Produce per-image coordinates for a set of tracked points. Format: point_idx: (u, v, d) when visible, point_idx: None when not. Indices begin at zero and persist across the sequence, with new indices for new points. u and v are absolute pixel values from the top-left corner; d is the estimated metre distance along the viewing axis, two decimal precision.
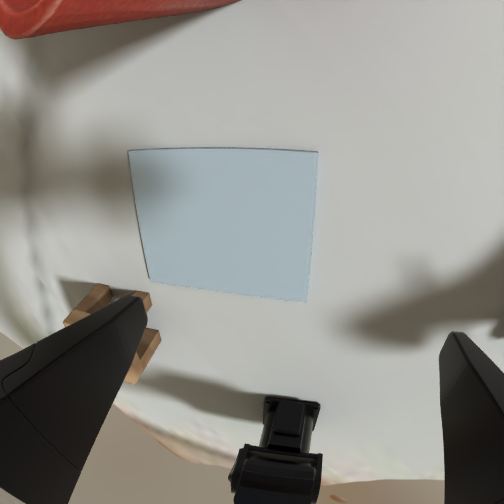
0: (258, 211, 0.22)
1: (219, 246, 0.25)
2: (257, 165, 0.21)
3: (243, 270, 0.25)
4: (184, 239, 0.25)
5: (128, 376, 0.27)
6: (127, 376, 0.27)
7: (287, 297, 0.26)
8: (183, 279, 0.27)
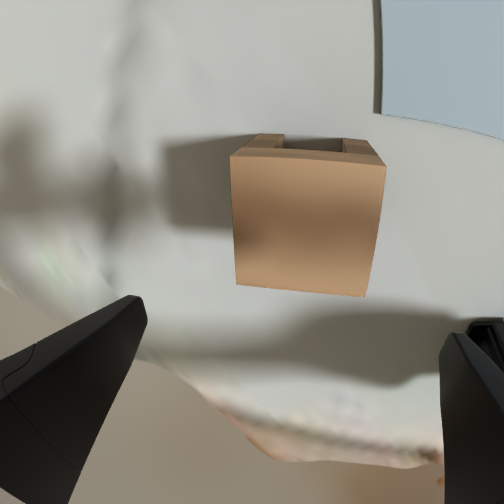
0: None
1: (488, 67, 0.12)
2: None
3: None
4: (448, 50, 0.13)
5: (359, 278, 0.14)
6: (357, 277, 0.14)
7: None
8: (437, 110, 0.15)
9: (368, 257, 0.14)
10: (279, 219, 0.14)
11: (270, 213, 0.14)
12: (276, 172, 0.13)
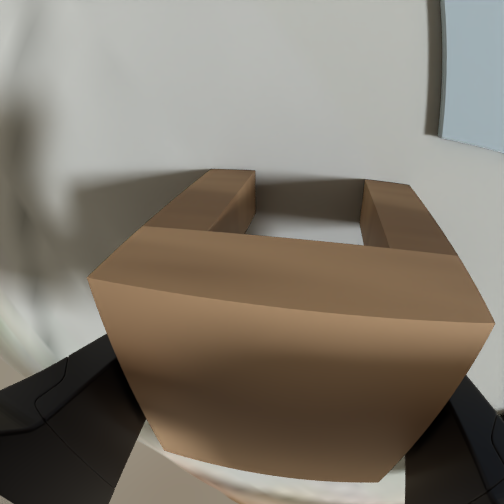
0: None
1: None
2: None
3: None
4: None
5: (375, 469, 0.06)
6: (371, 470, 0.06)
7: None
8: None
9: (397, 453, 0.06)
10: (218, 405, 0.06)
11: (199, 393, 0.06)
12: (198, 328, 0.05)
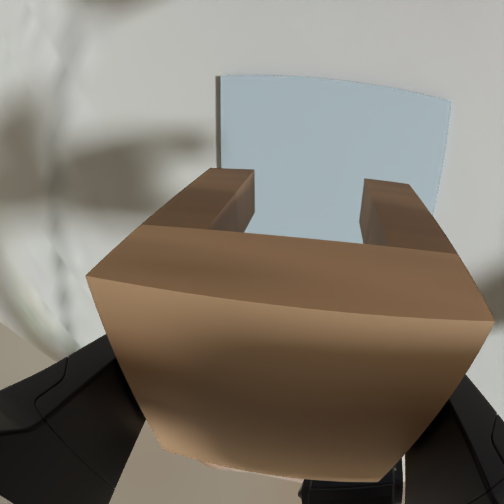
0: (384, 159, 0.17)
1: (330, 201, 0.19)
2: (389, 105, 0.16)
3: (354, 233, 0.20)
4: (284, 191, 0.20)
5: (375, 469, 0.06)
6: (371, 469, 0.06)
7: None
8: None
9: (396, 453, 0.06)
10: (218, 404, 0.06)
11: (198, 392, 0.06)
12: (197, 327, 0.05)
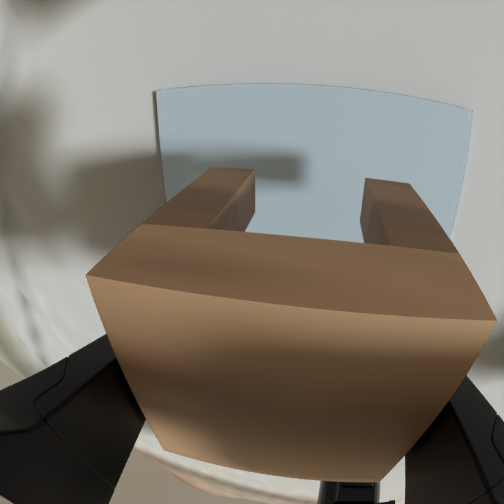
0: None
1: None
2: (387, 118, 0.11)
3: None
4: None
5: (376, 469, 0.06)
6: (372, 469, 0.06)
7: None
8: None
9: (398, 453, 0.06)
10: (218, 404, 0.06)
11: (198, 392, 0.06)
12: (198, 326, 0.05)
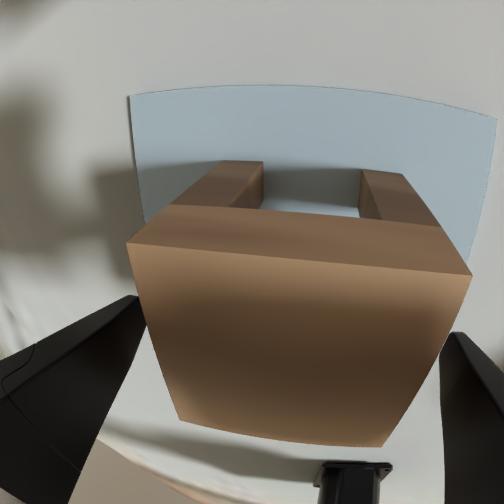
0: None
1: None
2: (399, 127, 0.09)
3: None
4: None
5: (378, 431, 0.07)
6: (374, 431, 0.07)
7: None
8: None
9: (397, 411, 0.07)
10: (236, 361, 0.07)
11: (219, 349, 0.07)
12: (224, 282, 0.06)
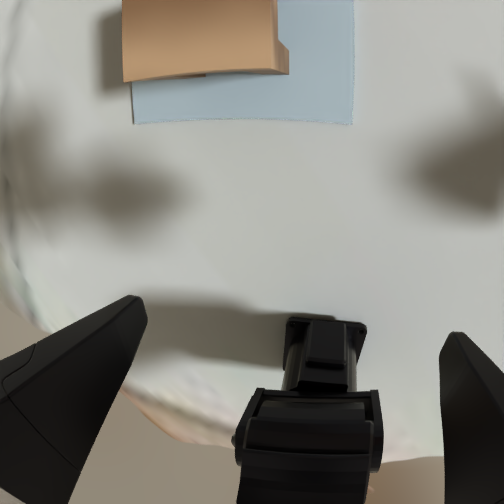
0: (284, 0, 0.14)
1: None
2: None
3: (264, 79, 0.16)
4: None
5: (259, 41, 0.10)
6: (256, 41, 0.10)
7: (326, 117, 0.17)
8: (179, 108, 0.18)
9: (264, 15, 0.09)
10: None
11: None
12: None
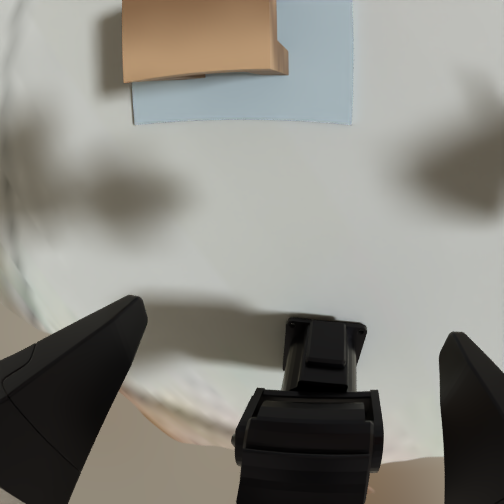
0: (283, 1, 0.14)
1: None
2: None
3: (263, 80, 0.16)
4: None
5: (258, 42, 0.10)
6: (255, 42, 0.10)
7: (325, 118, 0.17)
8: (179, 109, 0.18)
9: (263, 16, 0.09)
10: None
11: None
12: None
